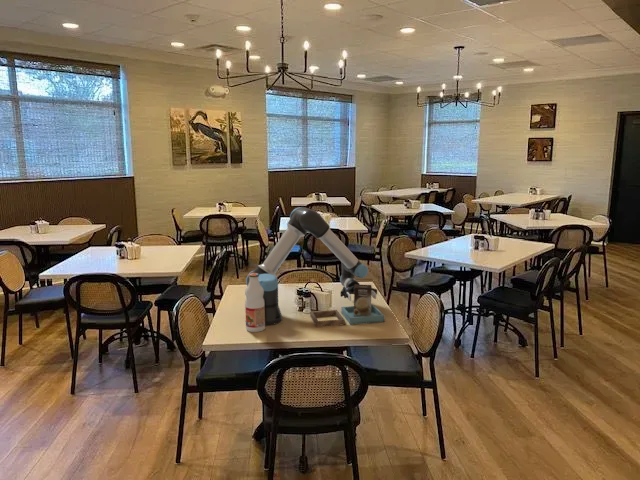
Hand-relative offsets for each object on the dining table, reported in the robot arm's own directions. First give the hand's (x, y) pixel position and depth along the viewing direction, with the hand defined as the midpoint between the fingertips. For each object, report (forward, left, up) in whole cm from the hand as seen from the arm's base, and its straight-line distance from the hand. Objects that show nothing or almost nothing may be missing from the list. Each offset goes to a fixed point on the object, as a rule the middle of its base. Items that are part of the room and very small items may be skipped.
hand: (363, 297), depth 259 cm
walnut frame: (-19, 0, -11) cm, 22 cm away
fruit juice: (-56, -4, -11) cm, 57 cm away
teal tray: (0, 0, -11) cm, 11 cm away
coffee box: (0, 0, -10) cm, 10 cm away
